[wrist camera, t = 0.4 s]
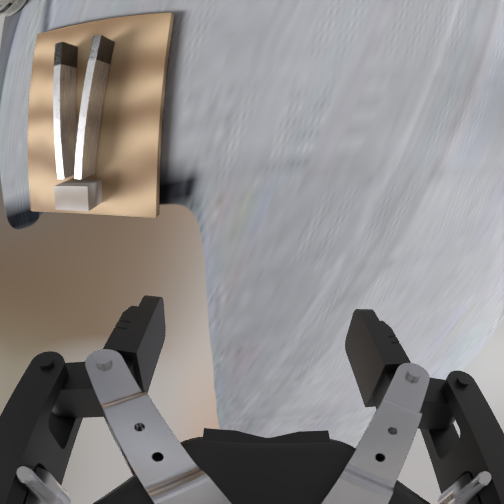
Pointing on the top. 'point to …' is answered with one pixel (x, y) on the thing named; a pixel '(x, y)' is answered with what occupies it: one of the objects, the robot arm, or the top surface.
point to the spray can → (11, 6)
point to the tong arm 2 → (92, 106)
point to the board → (105, 119)
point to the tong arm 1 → (65, 108)
